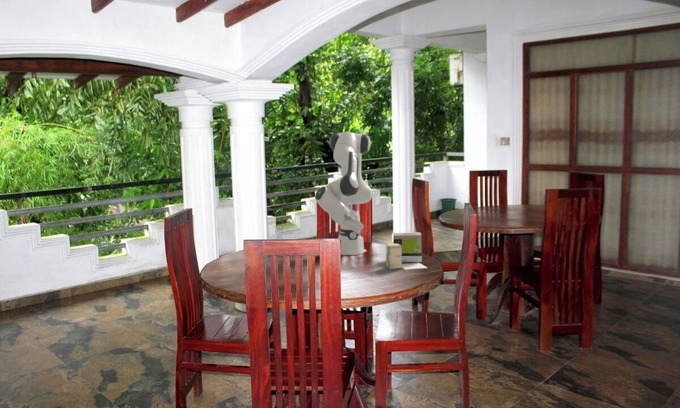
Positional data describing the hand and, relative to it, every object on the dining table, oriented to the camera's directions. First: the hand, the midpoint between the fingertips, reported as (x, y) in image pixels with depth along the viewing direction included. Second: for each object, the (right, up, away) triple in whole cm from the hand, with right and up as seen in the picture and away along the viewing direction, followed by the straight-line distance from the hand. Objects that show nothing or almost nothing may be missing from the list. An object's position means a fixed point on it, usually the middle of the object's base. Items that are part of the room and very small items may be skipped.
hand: (359, 233), depth 290 cm
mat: (+28, -18, +14) cm, 36 cm away
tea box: (+27, -16, +28) cm, 42 cm away
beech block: (+18, -18, +11) cm, 28 cm away
